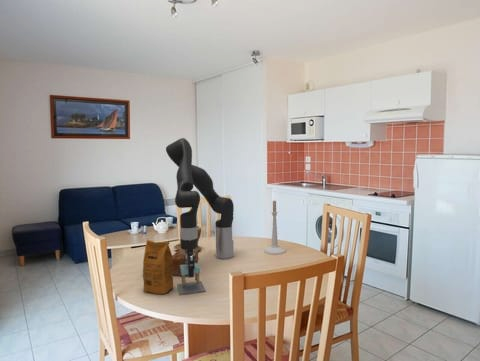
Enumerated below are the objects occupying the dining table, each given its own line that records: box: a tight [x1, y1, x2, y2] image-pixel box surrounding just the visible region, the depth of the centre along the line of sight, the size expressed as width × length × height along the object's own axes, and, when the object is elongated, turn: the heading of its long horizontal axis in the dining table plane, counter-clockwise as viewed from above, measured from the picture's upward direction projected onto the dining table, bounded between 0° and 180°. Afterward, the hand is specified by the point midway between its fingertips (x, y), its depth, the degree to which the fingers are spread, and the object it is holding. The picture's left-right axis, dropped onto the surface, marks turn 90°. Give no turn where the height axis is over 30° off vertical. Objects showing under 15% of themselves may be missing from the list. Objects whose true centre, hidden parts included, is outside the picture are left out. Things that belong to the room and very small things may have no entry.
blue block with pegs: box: [180, 263, 201, 286], centre depth 156 cm, size 6×8×7 cm
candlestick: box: [263, 200, 287, 256], centre depth 206 cm, size 13×13×30 cm
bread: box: [172, 249, 199, 277], centre depth 180 cm, size 19×11×10 cm, turn 172°
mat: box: [176, 280, 206, 296], centre depth 157 cm, size 11×11×1 cm
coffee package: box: [142, 239, 174, 295], centre depth 155 cm, size 10×12×22 cm
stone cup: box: [173, 225, 202, 252], centre depth 211 cm, size 15×12×15 cm
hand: (190, 274), depth 156 cm, fingers closed on blue block with pegs, 6 cm apart
